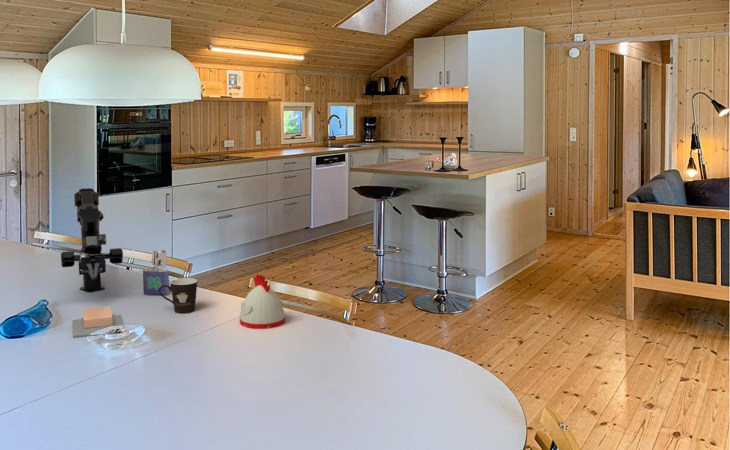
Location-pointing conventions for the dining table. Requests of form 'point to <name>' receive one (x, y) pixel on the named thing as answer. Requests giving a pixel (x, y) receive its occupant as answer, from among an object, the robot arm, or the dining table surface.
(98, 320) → the tile
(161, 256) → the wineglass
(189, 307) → the coffee mug
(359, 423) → the dining table surface
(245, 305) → the kitchen timer
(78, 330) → the mat
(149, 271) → the flask
